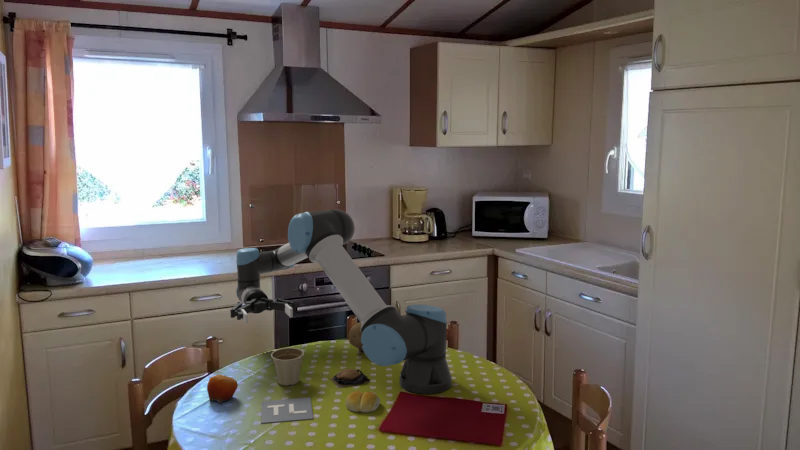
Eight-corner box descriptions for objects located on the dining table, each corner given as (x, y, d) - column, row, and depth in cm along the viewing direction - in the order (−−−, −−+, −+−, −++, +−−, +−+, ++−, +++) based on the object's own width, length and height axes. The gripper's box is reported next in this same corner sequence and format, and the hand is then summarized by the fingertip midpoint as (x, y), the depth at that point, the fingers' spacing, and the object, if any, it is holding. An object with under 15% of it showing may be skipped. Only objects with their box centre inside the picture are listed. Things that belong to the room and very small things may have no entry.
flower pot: (302, 388, 176) (301, 359, 174) (269, 388, 176) (268, 359, 174) (306, 374, 185) (305, 347, 184) (275, 375, 185) (274, 347, 183)
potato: (365, 357, 200) (365, 328, 199) (343, 352, 205) (342, 323, 203) (380, 349, 208) (380, 320, 207) (358, 344, 212) (358, 316, 211)
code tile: (261, 423, 154) (261, 422, 154) (262, 401, 167) (262, 400, 167) (313, 419, 157) (313, 417, 157) (310, 397, 169) (310, 396, 169)
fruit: (196, 400, 164) (204, 370, 167) (212, 404, 171) (220, 375, 174) (221, 405, 161) (229, 374, 164) (237, 409, 168) (245, 379, 171)
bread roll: (351, 399, 169) (350, 385, 169) (382, 402, 167) (382, 388, 167) (340, 411, 161) (340, 397, 161) (373, 415, 159) (373, 401, 159)
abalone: (338, 390, 176) (338, 378, 175) (328, 380, 183) (328, 368, 183) (372, 383, 180) (372, 372, 180) (361, 373, 188) (361, 362, 187)
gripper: (292, 306, 210) (309, 322, 191) (216, 315, 200) (227, 333, 180) (291, 285, 209) (309, 299, 190) (215, 293, 199) (226, 308, 179)
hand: (269, 315), depth 185 cm, fingers open, 13 cm apart
